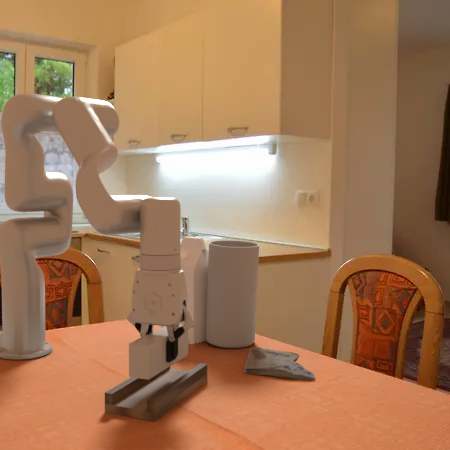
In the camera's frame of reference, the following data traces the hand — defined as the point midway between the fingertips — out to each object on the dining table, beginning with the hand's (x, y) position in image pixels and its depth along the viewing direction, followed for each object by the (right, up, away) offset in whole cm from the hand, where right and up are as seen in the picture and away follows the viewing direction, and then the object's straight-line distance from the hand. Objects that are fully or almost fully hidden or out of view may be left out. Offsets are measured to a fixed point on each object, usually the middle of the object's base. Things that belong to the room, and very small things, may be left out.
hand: (160, 357), depth 111 cm
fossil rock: (+24, -7, +19) cm, 32 cm away
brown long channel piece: (0, -7, +1) cm, 7 cm away
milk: (+4, -4, +43) cm, 44 cm away
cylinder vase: (+14, -4, +37) cm, 40 cm away
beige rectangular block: (0, -1, 0) cm, 1 cm away
